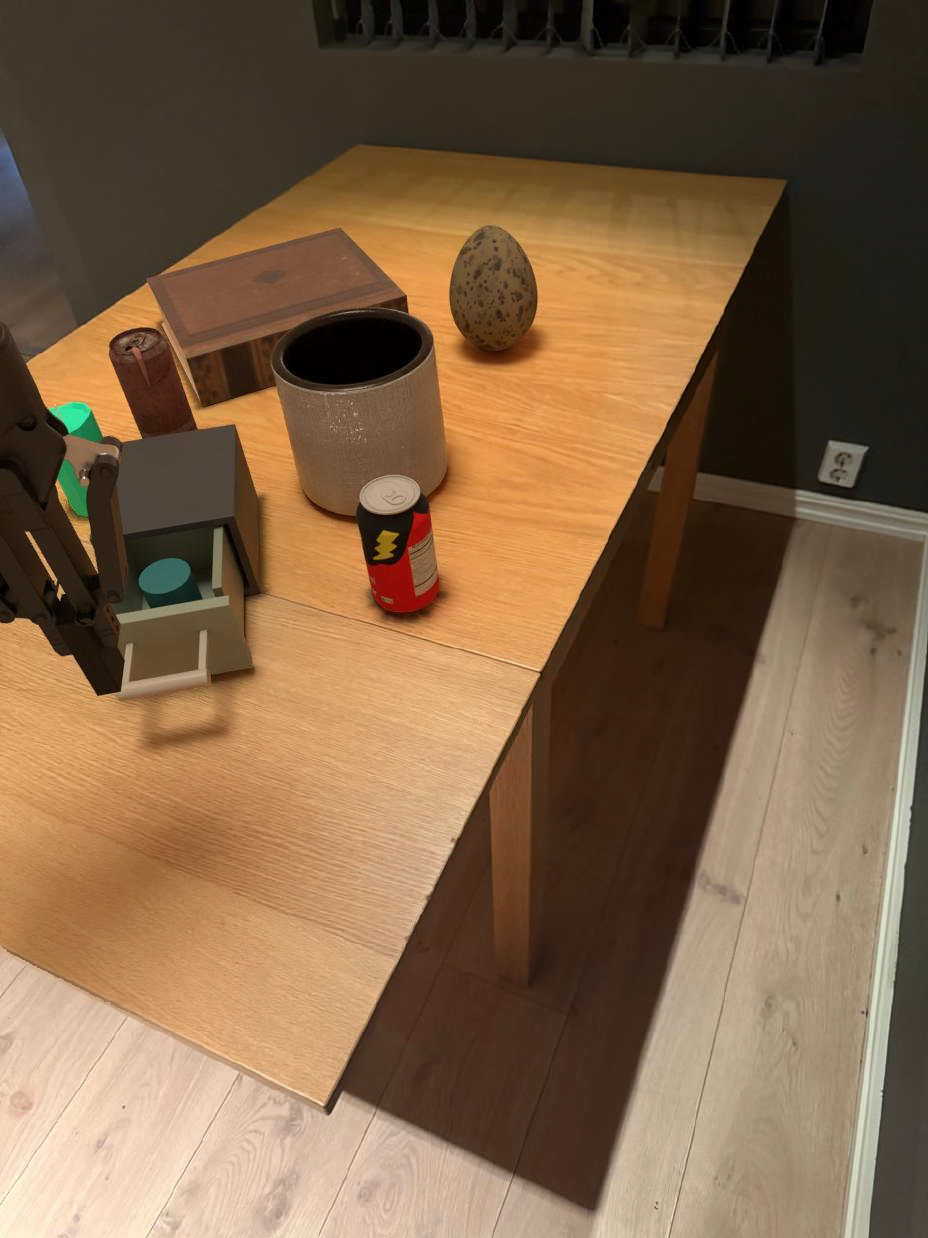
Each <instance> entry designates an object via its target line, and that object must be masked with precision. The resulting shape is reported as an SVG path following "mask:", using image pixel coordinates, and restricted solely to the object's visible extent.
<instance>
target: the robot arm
mask: <svg viewBox="0 0 928 1238" xmlns="http://www.w3.org/2000/svg"><path fill="white" fill-rule="evenodd" d="M39 390H40V389H39V388H38V385H37V383H36V381H35V379H34V377H33V375H32V373H31V371H30V369H29V367H28V365H27V363H26V361H25V359H24V357H23V354H22V352H21V350H20V348H19V346H18V345H17V342H16V340H15V338H14V336H13V334H12V332H11V330H10V328H9V327H8V325H7V324H5V322H3V321H1V320H0V624H5V625H6V624H12V623H13V622H15V620H16V619H23V620H24V619H25V620H29V621H30V622H31V623H32V624H33V625H37V626H38V627H39V629H40V630H41V632H42V633H43V635H44V637H45V639H46V640H47V641H48V643H49V644H50V646H51V648H52V649H53V650H54V652H55V654H57V655H59V656H60V657H67V656H72V657H73V659H74V660H75V662H76V663H77V665H78V667H79V668H80V670H81V671H82V673H83V675H84V676H85V678H86V680H87V682H88V683H89V685H90V686H91V688H92V690H93V691H94V693H95V695H96V696H97V697H100V696H101V697H102V696H106V695H112V694H116V693H117V692H121V688H122V680H123V672H124V664H125V660H124V658H123V656H122V654H121V652H120V651H119V649H118V647H117V646H118V642H119V635H120V622H119V620H118V618H117V616H116V614H115V613H114V610H113V609H112V607H111V605H110V603H111V604H118V603H120V602H122V601H123V600H124V597H125V591H126V583H127V576H128V575H127V574H128V563H127V556H126V549H125V542H124V535H123V528H122V521H121V514H120V507H119V500H118V493H117V486H116V481H117V479H118V475H119V469H120V462H121V456H122V450H123V445H122V442H123V441H121V440H120V439H119V438H118V437H115V436H111V435H105V436H103V438H101V439H100V441H99V443H96V442H93V441H90V440H87V439H83V438H80V437H77V436H74V435H70V434H69V432H68V429H67V427H66V425H65V424H64V423H63V422H62V421H61V420H60V419H59V418H58V417H56V416H55V415H54V414H53V413H52V412H51V411H50V410H49V409H50V408H48V407H47V406H46V404H45V403H44V400H43V398H42V395H41V392H40V391H39ZM64 460H65V461H67V462H69V463H70V464H71V465H72V466H73V469H74V475H75V477H76V479H77V480H79V481H78V482H79V484H80V485H81V486H83V487H88V488H87V493H86V506H87V512H88V517H87V518H88V523H89V528H90V533H91V535H92V541H93V546H92V548H93V547H94V549H93V551H94V552H93V553H94V558H95V563H96V567H95V566H94V563H93V562H92V560H91V558H90V555H89V554H88V553H87V550H86V548H85V545H84V544H83V543H82V541H81V538H80V537H79V535H78V533H77V532H76V529H75V528H74V526H73V523H72V522H71V520H70V518H69V516H68V514H67V512H66V510H65V508H64V507H63V505H62V503H61V501H60V498H59V491H58V487H57V486H56V483H57V481H58V480H57V478H58V475H59V472H60V469H61V466H62V463H63V461H64ZM28 532H29V535H31V537H32V539H33V540H34V542H35V544H36V546H37V548H38V549H39V550H40V553H41V555H42V556H43V558H44V559H45V561H46V563H47V564H48V566H49V569H50V570H51V572H52V573H53V575H54V577H55V579H56V580H54V579H53V578H52V576H51V574H50V573H49V570H48V569H47V568H46V565H45V564H44V562H43V560H42V559H41V557H40V555H39V554H38V552H37V550H36V548H35V547H34V545H33V544H32V541H31V540H30V538H29V536H28V535H27V533H28ZM96 568H97V569H96ZM55 581H56V583H55ZM60 587H61V589H62V591H63V593H61V595H60V598H59V597H58V593H59V588H60Z"/></svg>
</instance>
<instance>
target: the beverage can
mask: <svg viewBox="0 0 928 1238" xmlns="http://www.w3.org/2000/svg"><path fill="white" fill-rule="evenodd" d="M355 519H356V524H357V528H358V531H359V532H358V533H359V539H360V543H361V547H362V551H363V556H364V561H365V565H366V570H367V576H368V581H369V584H370V585H369V586H370V589H371V590H370V591H371V594H372V597H373V599H374V600H375V602H376V603H377V604H378V605H379V606H381V607H382V608H384V609H385V610H387V611H390V612H394V613H412V612H415V611H419V610H421V609H423V608H425V607H426V606H428V605H430V604H431V602H432V601H433V600H434V599H435V598H436V596H437V595H438V593H439V590H440V576H439V568H438V561H437V554H436V553H437V552H436V546H435V539H434V538H435V537H434V529H433V523H432V515H431V508H430V503H429V501H428V498H427V497H425V496H424V495H423V494H422V493H421V492H420V488H419V485H418V484H417V483H416V482H415V481H414V480H413V479H411V478H409V477H406V476H401V475H387V476H382V477H379V478H376V479H374V480H372V481H370V482H369V483H368V484H366V485H365V486H364V487H363V489H362V490H361V492H360V502H359V504H358V507H357V510H356V516H355Z"/></svg>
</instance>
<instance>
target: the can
mask: <svg viewBox="0 0 928 1238" xmlns="http://www.w3.org/2000/svg"><path fill="white" fill-rule="evenodd" d="M168 341H169V340H167V338H166V337H165V335H163V333H161V331H160V330H159V329H157V328H155V327H149V326H142V327H141V326H139V327H134V328H130V329H127V330H124V331H122V332H120V333H118V334H116V335H115V336H114V337H112V338H111V340H110V341H109V343H108V348H109V349H108V350H109V351H108V357H109V360H110V362H111V364H112V367H113V370H114V373H115V374H116V375H115V376H116V377H117V380H118V382H119V385H120V388H121V389H122V392H123V395H124V397H125V399H126V402H127V404H128V407H129V409H130V412H131V414H132V417H133V419H134V422H135V424H136V427H137V430H138V432H139V434H140V437H141V439H144V438H150V437H157V436H163V435H169V434H175V433H181V432H188V431H194V430H199V428H198V426H197V422H196V420H195V417H194V414H193V411H192V407H191V405H190V402H189V399H188V396H187V393H186V391H185V388H184V386H183V382H182V378H181V377H180V374H179V371H178V368H177V365H176V362H175V359H174V356H173V352H172V350H171V347H170V345H169V342H168Z"/></svg>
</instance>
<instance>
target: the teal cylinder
mask: <svg viewBox="0 0 928 1238" xmlns="http://www.w3.org/2000/svg"><path fill="white" fill-rule="evenodd" d="M139 586H140V588H141V590H142V592H143V595H144V597H145V599H146V601H147V603H148V605H149V607H150V609H152V608H158V607H164V606H169V605H175V604H181V603H187V602H192V601H198V600H203V598H202V595H201V593H200V590H199V588H198V586H197V583H196V581H195V578H194V576H193V573H192V571H191V568H190V566H189V565H188V563H186V562H185V561H183V560H181V559H176V558H168V559H163V560H159V561H157V562H155V563H153V564H151V565H149V566H148V567H147V568H146V569H145V570H144V571H143V572H142V573H141V575H140V577H139Z"/></svg>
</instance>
